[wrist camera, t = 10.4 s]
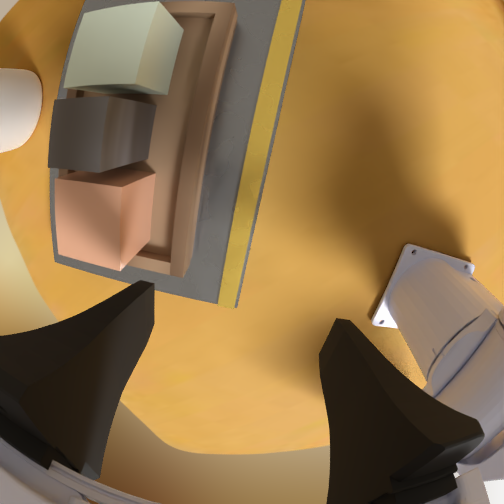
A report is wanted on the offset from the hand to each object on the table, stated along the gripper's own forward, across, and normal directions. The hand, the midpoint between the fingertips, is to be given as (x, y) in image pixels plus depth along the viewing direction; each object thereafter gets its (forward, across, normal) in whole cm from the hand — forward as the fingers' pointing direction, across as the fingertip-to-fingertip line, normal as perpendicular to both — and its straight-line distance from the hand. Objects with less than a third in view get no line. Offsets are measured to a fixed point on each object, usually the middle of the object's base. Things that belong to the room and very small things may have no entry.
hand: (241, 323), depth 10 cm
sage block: (+6, +8, -10) cm, 14 cm away
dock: (+10, +8, -6) cm, 14 cm away
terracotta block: (+6, +8, -2) cm, 10 cm away
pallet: (+8, +8, -6) cm, 13 cm away
